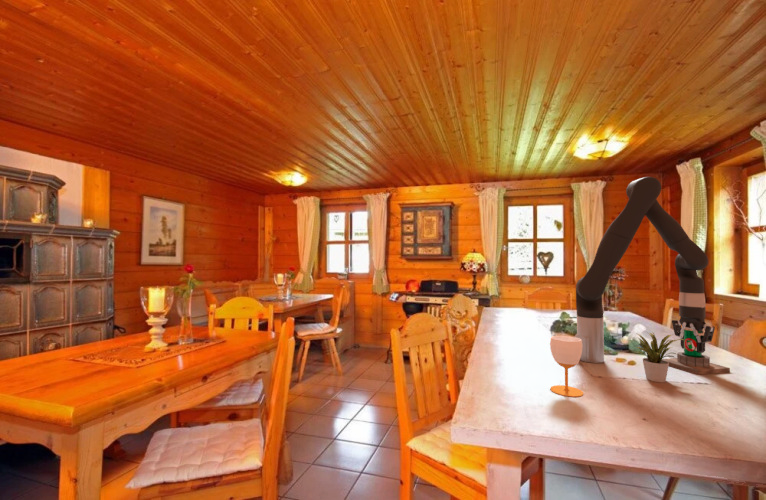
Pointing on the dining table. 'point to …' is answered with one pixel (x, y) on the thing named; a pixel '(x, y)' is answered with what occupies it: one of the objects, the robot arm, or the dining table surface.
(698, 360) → the can holder
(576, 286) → the robot arm
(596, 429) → the dining table surface
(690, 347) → the soda can
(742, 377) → the dining table surface
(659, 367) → the house plant
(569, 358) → the cup
